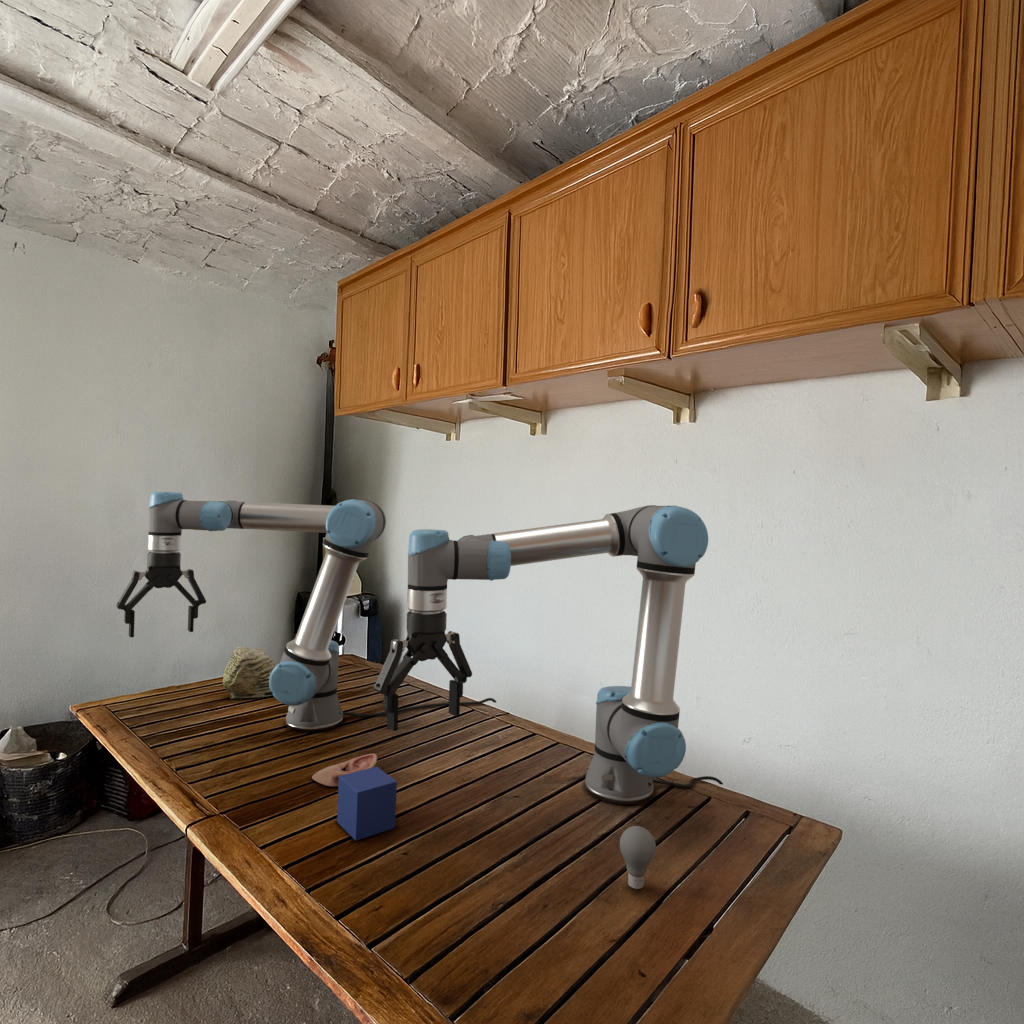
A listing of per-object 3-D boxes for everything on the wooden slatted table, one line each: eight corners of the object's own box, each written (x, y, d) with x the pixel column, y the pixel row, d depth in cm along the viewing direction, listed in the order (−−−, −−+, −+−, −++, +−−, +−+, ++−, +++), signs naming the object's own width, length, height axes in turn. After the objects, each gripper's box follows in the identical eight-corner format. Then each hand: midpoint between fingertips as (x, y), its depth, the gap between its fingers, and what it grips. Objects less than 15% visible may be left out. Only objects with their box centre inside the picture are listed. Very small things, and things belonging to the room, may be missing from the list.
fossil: (218, 695, 195) (220, 647, 195) (278, 685, 208) (279, 640, 207) (228, 703, 189) (230, 653, 188) (289, 692, 201) (290, 645, 201)
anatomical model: (305, 765, 139) (330, 745, 150) (304, 783, 139) (330, 762, 151) (361, 773, 137) (383, 752, 148) (360, 791, 137) (382, 769, 148)
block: (336, 822, 124) (338, 776, 124) (375, 810, 129) (376, 766, 129) (355, 840, 117) (357, 792, 117) (395, 827, 123) (397, 781, 122)
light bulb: (613, 876, 109) (616, 819, 109) (647, 876, 110) (650, 819, 110) (622, 898, 103) (625, 837, 103) (658, 897, 104) (661, 837, 104)
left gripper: (109, 553, 152) (106, 641, 153) (220, 552, 168) (217, 631, 168) (105, 551, 158) (102, 635, 158) (212, 549, 174) (209, 626, 174)
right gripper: (376, 620, 110) (373, 741, 110) (491, 607, 125) (488, 714, 126) (357, 613, 116) (354, 728, 116) (469, 602, 131) (466, 704, 132)
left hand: (161, 633), depth 163 cm, fingers open, 13 cm apart
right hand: (424, 721), depth 121 cm, fingers open, 13 cm apart
